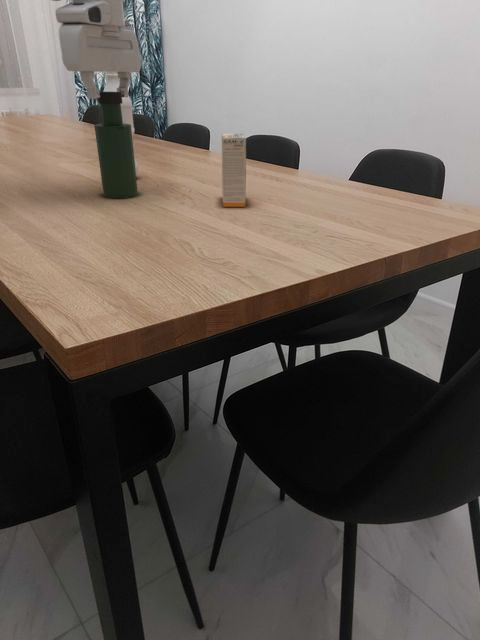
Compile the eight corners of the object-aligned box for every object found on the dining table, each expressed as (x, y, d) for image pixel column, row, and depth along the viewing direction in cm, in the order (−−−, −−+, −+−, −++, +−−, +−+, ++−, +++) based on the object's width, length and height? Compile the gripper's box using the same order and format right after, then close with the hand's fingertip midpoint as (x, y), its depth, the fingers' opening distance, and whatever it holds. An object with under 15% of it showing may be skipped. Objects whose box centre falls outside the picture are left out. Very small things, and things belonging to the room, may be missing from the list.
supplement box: (246, 207, 101) (246, 137, 95) (222, 207, 101) (221, 137, 95) (244, 198, 109) (244, 132, 102) (222, 198, 108) (221, 132, 102)
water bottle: (139, 175, 130) (128, 64, 117) (138, 180, 123) (127, 64, 111) (111, 176, 128) (97, 63, 116) (108, 181, 122) (93, 63, 110)
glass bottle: (112, 200, 105) (100, 104, 96) (98, 193, 110) (85, 102, 101) (143, 195, 109) (134, 103, 100) (128, 190, 114) (119, 101, 105)
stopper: (106, 123, 100) (103, 92, 97) (97, 121, 103) (93, 91, 100) (128, 122, 102) (125, 92, 99) (118, 121, 105) (115, 91, 103)
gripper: (118, 20, 103) (126, 96, 110) (48, 9, 86) (62, 99, 93) (145, 20, 101) (151, 97, 108) (78, 9, 84) (90, 100, 91)
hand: (109, 98), depth 100 cm, fingers open, 8 cm apart
